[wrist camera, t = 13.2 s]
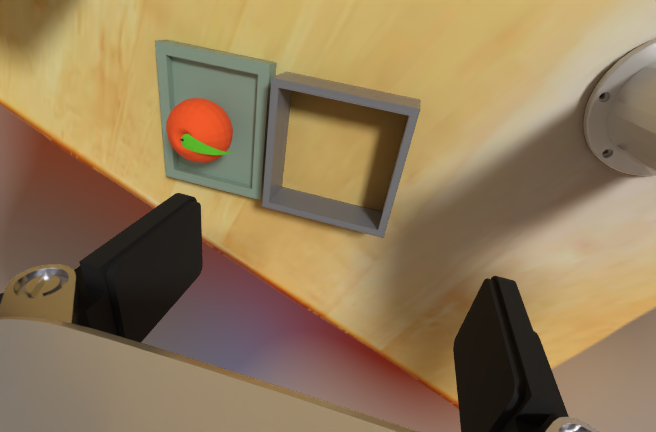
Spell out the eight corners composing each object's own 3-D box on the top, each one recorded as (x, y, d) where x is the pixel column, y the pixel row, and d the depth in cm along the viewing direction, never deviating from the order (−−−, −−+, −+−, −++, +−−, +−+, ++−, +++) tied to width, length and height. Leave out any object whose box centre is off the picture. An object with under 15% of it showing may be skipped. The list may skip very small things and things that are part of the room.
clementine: (258, 113, 41) (229, 129, 34) (242, 164, 44) (214, 187, 38) (195, 82, 40) (155, 93, 34) (184, 136, 44) (146, 154, 38)
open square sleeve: (420, 99, 37) (420, 109, 33) (386, 218, 44) (383, 237, 40) (286, 71, 39) (271, 77, 35) (275, 191, 46) (262, 206, 42)
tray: (276, 62, 38) (269, 64, 37) (266, 193, 47) (260, 200, 45) (166, 39, 40) (155, 40, 38) (175, 170, 48) (166, 175, 46)
